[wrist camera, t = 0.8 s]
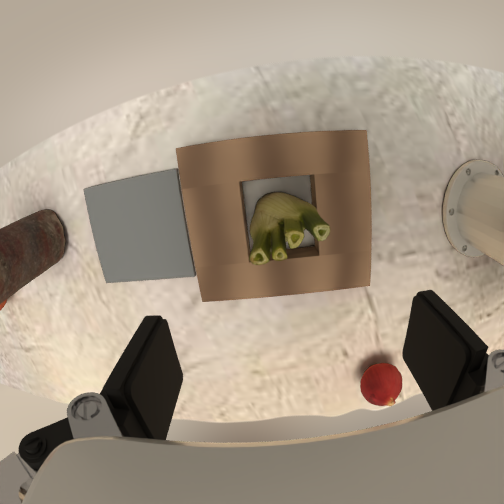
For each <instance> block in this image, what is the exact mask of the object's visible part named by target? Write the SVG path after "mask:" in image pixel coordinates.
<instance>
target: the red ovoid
mask: <svg viewBox="0 0 504 504" xmlns="http://www.w3.org/2000/svg"><path fill="white" fill-rule="evenodd" d="M360 387H361V393H362V394H363V396H364V397H365V399H366V400H367V401H368V402H370V403H371V404H374V405H378V406H385V405H387V406H392V405H394V404H395V403H396V402H395V401H394V400H395V399H396V398H397V397H398V395H399V393H400V392H401V389H402V376H401V373H400V372H399V371H398V369H397V368H396V367H395V366H393V365H391V364H388V363H380V364H375V365H372V366H370V367H369V368H368V369H367V370H366V371H365V372H364V374H363V376H362V379H361V385H360Z"/></svg>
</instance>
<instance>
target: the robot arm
mask: <svg viewBox="0 0 504 504" xmlns="http://www.w3.org/2000/svg"><path fill="white" fill-rule="evenodd" d="M443 223H444V228H445V232H446V235H447V237H448V240H449V241H450V243H451V245H452V246H453V247H454V248H455V249H456V250H457V251H458V252H460V253H461V254H463V255H465V256H468V257H480V256H483V255H485V254H486V255H488V256H489V257H491V258H493V259H494V260H496V261H497V262H499V263H500V264H502V265H504V176H503V174H502V173H501V171H500V170H499V169H498V168H497V167H496V166H495V165H494V164H492V163H490V162H488V161H484V160H472V161H469V162H467V163H465V164H463V165H462V166H461V167H460V168H459V169H458V170H457V171H456V172H455V174H454V175H453V176H452V178H451V180H450V182H449V184H448V187H447V190H446V193H445V198H444V203H443ZM487 349H488V346H487V345H486V344H485V343H484V342H483V341H482V340H481V339H480V338H479V337H478V335H477V334H476V333H475V332H474V331H473V330H472V329H471V328H470V327H469V326H468V325H467V324H466V323H465V322H464V321H463V320H462V319H461V318H460V317H459V316H458V315H457V314H456V313H455V312H454V311H453V310H452V309H451V308H450V307H449V306H448V305H447V304H446V303H445V302H444V301H443V300H442V299H441V298H440V297H439V296H438V295H437V294H436V293H435V292H434V291H432V290H427V291H421V292H418V293H417V295H416V296H415V297H414V298H413V301H412V307H411V313H410V319H409V324H408V329H407V334H406V338H405V343H404V347H403V359H404V361H405V363H406V365H407V366H408V368H409V370H410V371H411V373H412V375H413V377H414V378H415V380H416V382H417V384H418V385H419V387H420V389H421V391H422V393H423V394H424V396H425V398H426V400H427V402H428V403H429V405H430V407H431V409H432V411H431V412H428V413H424V414H421V415H418V416H414V417H411V418H407V419H404V420H400V421H396V422H393V423H389V424H384V425H380V426H376V427H371V428H366V429H362V430H357V431H351V432H346V433H340V434H334V435H327V436H320V437H313V438H305V439H296V440H284V441H270V442H252V443H251V442H250V443H206V442H184V441H183V442H182V441H169V440H166V437H167V433H168V430H169V426H170V423H171V419H172V416H173V412H174V409H175V406H176V402H177V399H178V395H179V392H180V389H181V385H182V382H183V373H182V370H181V367H180V363H179V360H178V357H177V354H176V350H175V347H174V343H173V340H172V336H171V333H170V329H169V326H168V322H167V320H166V319H163V318H162V317H161V316H145V318H144V319H143V321H142V322H141V324H140V326H139V327H138V329H137V331H136V332H135V334H134V335H133V337H132V339H131V340H130V342H129V344H128V345H127V347H126V349H125V350H124V352H123V354H122V355H121V357H120V359H119V361H118V362H117V364H116V366H115V367H114V369H113V371H112V373H111V374H110V376H109V378H108V380H107V381H106V383H105V385H104V387H103V389H102V391H101V393H100V394H98V393H94V392H91V393H84V394H81V395H79V396H77V397H76V398H74V399H73V400H72V401H71V402H70V404H69V406H68V408H67V416H68V417H67V418H65V419H63V420H60V421H58V422H56V423H53V424H51V425H49V426H46V427H44V428H41V429H39V430H36V431H34V432H31V433H29V434H28V435H26V436H25V437H24V438H23V439H22V441H21V442H20V445H19V453H18V454H16V453H15V452H13V453H11V454H10V455H9V456H7V457H6V458H4V459H3V460H2V461H0V504H504V350H495V351H493V352H491V354H490V355H488V354H487V353H486V352H487Z"/></svg>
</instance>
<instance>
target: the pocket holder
mask: <svg viewBox="0 0 504 504" xmlns="http://www.w3.org/2000/svg"><path fill="white" fill-rule="evenodd" d="M176 154H177V161H178V168H179V175H180V182H181V188H182V195H183V201H184V207H185V213H186V219H187V225H188V230H189V236H190V241H191V247H192V252H193V257H194V263H195V268H196V273H197V278H198V283H199V287H200V292H201V297H202V302H209V301H223V300H237V299H249V298H261V297H273V296H283V295H294V294H304V293H313V292H322V291H331V290H340V289H348V288H356V287H364V286H370V275H371V238H372V221H371V184H370V166H369V152H368V140H367V130H342V131H316V132H299V133H286V134H275V135H264V136H255V137H246V138H238V139H231V140H224V141H217V142H210V143H204V144H198V145H192V146H186V147H181V148H176ZM300 175H310V182H311V195H312V205H313V206H314V207H316V209H317V212H318V214H319V215H320V217H321V218H322V219H323V220H324V221H325V222H326V223H328V224H329V226H330V234H329V236H328V237H327V239H326V240H324V241H318V240H317V239H316V238H315V237H314V241H315V246H312V247H302V248H293V249H286V253H287V256H288V257H287V259H285V260H282V261H275V260H274V259H273V258H272V253H271V256H270V260H269V262H268V263H266V264H262V265H254V264H252V263H251V261H250V260H249V256H250V253H251V252H250V244H249V236H248V228H247V220H246V212H245V204H244V196H243V188H242V181H248V180H257V179H267V178H277V177H288V176H300Z"/></svg>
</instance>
